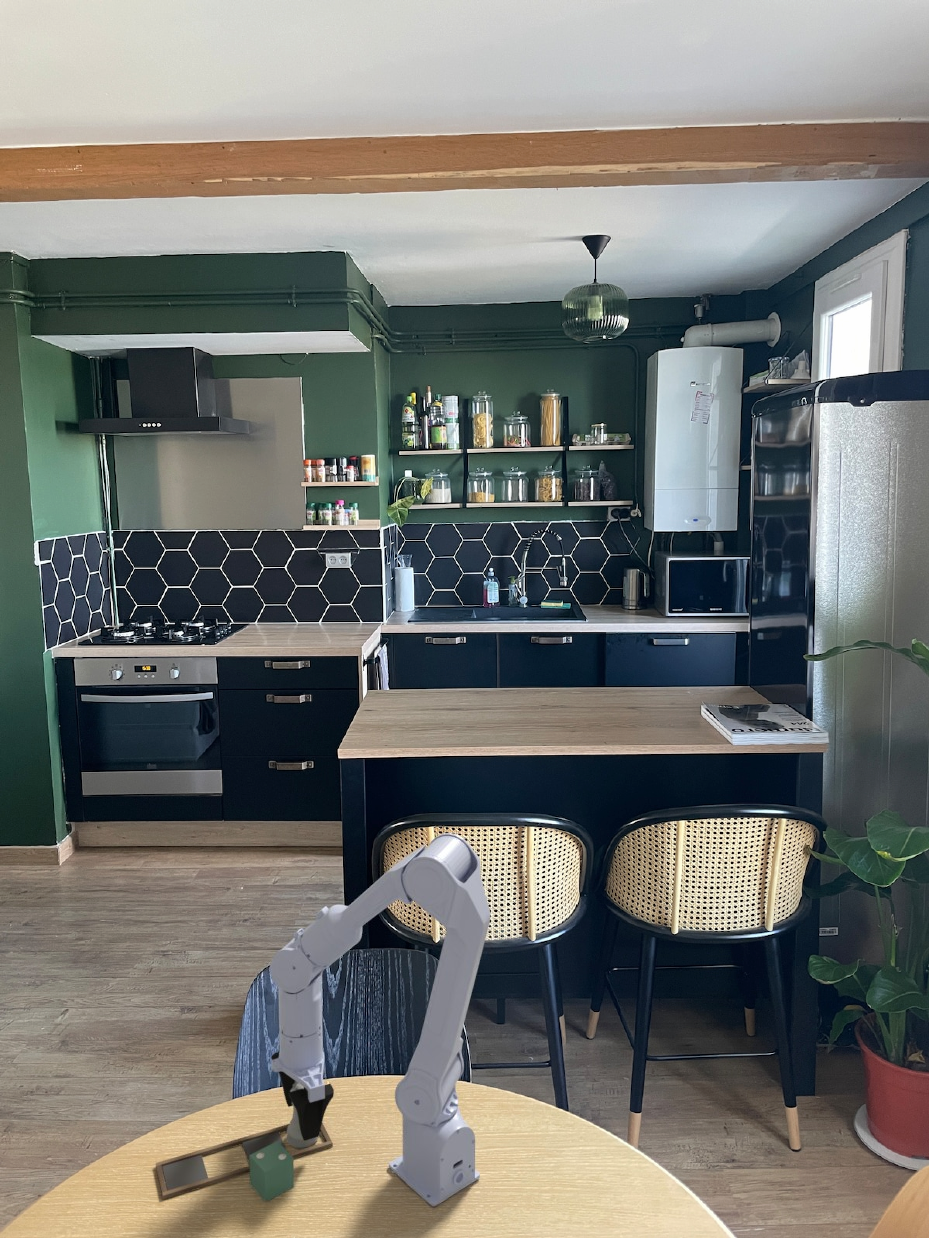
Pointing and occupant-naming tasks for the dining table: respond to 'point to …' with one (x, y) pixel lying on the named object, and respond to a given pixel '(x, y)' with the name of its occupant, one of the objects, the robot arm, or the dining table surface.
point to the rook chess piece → (297, 1128)
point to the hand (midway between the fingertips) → (302, 1119)
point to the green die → (271, 1171)
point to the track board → (190, 1167)
